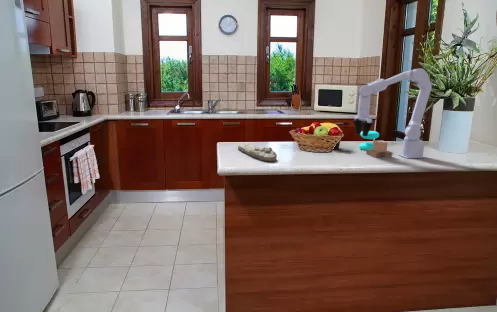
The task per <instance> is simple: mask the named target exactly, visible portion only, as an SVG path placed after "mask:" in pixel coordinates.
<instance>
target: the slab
mask: <svg viewBox="0 0 497 312" xmlns="http://www.w3.org/2000/svg"><path fill="white" fill-rule="evenodd" d="M365 154H366V155H367V156H370V157H373V158H374V159H380V158H381V159H382V158H383V157H388V158H392V155H393V152H392V151H389V150H387V152H376V151H374V150H373V149H367V150H366V153H365Z"/></svg>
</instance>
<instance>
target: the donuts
mask: <svg viewBox="0 0 497 312" xmlns="http://www.w3.org/2000/svg"><path fill="white" fill-rule="evenodd" d="M359 135H360V136H361V137H362V138H363V139H367V140H368V139H369V140H375V139H377V138H379V137H380V133H379V132H378V131H373V130H369V132H368V135H367V136H363V130H361V132H360V134H359ZM358 145H359V146H358V147H359V149H361V150H362V151H367V149H373V142H370V141H369V142H368V141H367V142H365V141H364V142H361V143H360V144H358Z"/></svg>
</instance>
